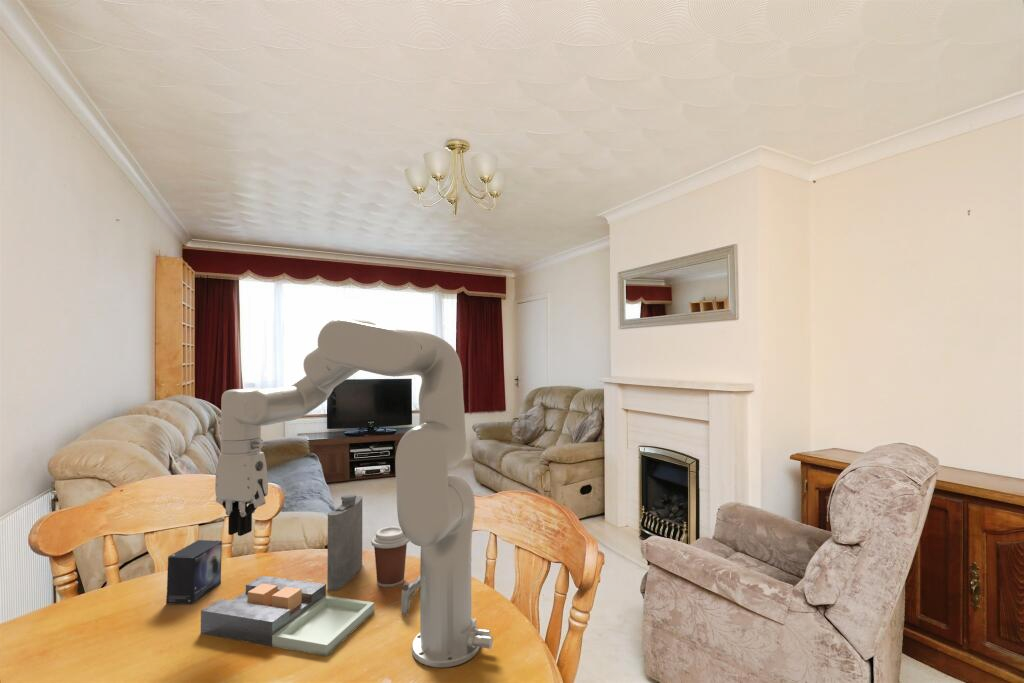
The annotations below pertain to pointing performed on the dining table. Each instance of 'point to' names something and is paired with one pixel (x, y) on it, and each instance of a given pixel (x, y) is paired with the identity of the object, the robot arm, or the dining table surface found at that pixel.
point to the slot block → (257, 612)
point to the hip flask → (344, 541)
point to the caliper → (408, 594)
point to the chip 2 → (287, 598)
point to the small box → (193, 571)
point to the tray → (323, 625)
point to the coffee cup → (390, 556)
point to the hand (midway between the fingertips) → (240, 532)
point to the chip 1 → (262, 594)
